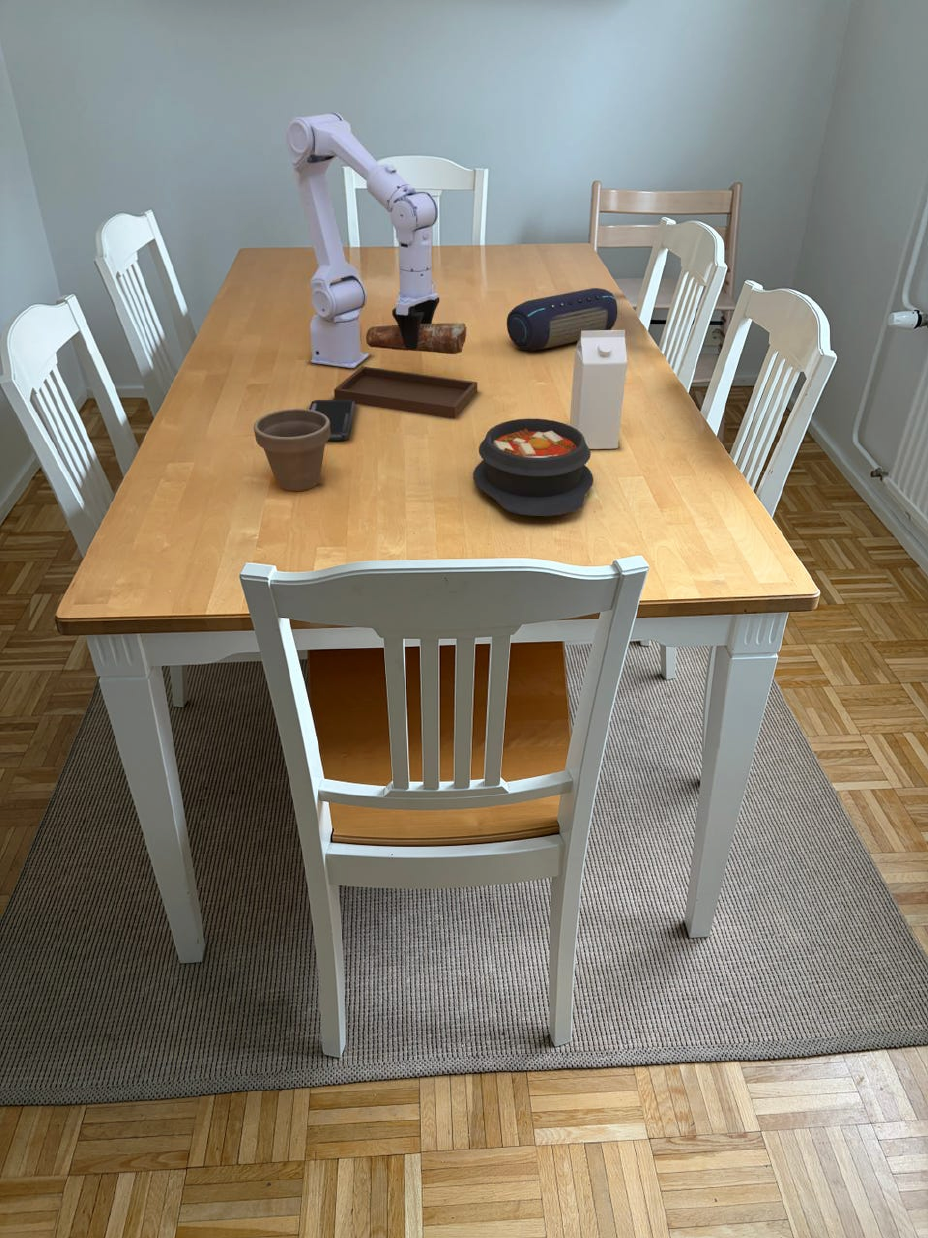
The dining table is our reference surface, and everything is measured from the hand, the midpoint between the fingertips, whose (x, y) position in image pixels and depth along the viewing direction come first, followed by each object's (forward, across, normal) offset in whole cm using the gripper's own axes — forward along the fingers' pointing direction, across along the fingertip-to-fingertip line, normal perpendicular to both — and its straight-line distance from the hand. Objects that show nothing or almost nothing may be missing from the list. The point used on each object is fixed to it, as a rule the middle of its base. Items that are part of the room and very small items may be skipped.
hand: (416, 342), depth 177 cm
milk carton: (+9, -13, -37) cm, 40 cm away
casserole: (+9, -33, -32) cm, 46 cm away
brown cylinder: (+2, -1, 0) cm, 2 cm away
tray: (+8, -6, 0) cm, 10 cm away
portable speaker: (+9, +33, -20) cm, 40 cm away
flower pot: (+9, -44, +3) cm, 44 cm away
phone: (+8, -22, +8) cm, 24 cm away
